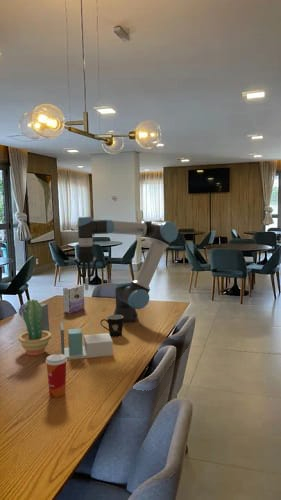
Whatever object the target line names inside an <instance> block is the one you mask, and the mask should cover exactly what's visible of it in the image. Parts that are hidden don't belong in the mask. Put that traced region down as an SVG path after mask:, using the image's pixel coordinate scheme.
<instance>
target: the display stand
mask: <svg viewBox="0 0 281 500" xmlns="http://www.w3.org/2000/svg"><path fill="white" fill-rule="evenodd" d="M59 324H60V347H61V348H60V349H61V350H60V351H61V354H63V355H65V356H66V359H67V361H69V360H71V361H72V360H79V359H89V358H97V357H98V358H99V357H109V356H114V347H113V346H114V345H113V344H114V342H113V341H114V340H113V339H112V337H111V336H110V333H109V332H105V333H94V334H84V335H83V342H84V345H82V347H83V354H77V355H69V347H65V332H64V331H65V330H64V323H63V321H60V323H59Z"/></svg>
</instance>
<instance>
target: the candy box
mask: <svg viewBox="0 0 281 500" xmlns="http://www.w3.org/2000/svg"><path fill="white" fill-rule="evenodd" d="M62 290H63V291H62V294H63V297H62V298H63V299H62V300H63V313H65V314H68V315H70V314H72V313H76V312H79V311H83V310H85V284H74V285H70V286H67V287H63V288H62Z"/></svg>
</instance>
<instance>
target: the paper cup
mask: <svg viewBox="0 0 281 500" xmlns="http://www.w3.org/2000/svg"><path fill="white" fill-rule="evenodd" d="M67 361H68V360H67V359H66V356H65V355H63V354H62V353H60V354H59V353H56V354H54V353H53V354H50V355H47V357H46V360H45V364H46V372H47V382H48V391H49V393H48V394H49V396H50V397H52V398H61V397H63V396H65V394H66V377H67V375H66V373H67Z"/></svg>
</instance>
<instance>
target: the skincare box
mask: <svg viewBox="0 0 281 500" xmlns="http://www.w3.org/2000/svg"><path fill="white" fill-rule="evenodd" d="M40 305H41V306H42V320H41V327H42V331H48V332H50V322H49V321H50V320H49V319H50V318H49V307H48V303H40Z"/></svg>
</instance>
